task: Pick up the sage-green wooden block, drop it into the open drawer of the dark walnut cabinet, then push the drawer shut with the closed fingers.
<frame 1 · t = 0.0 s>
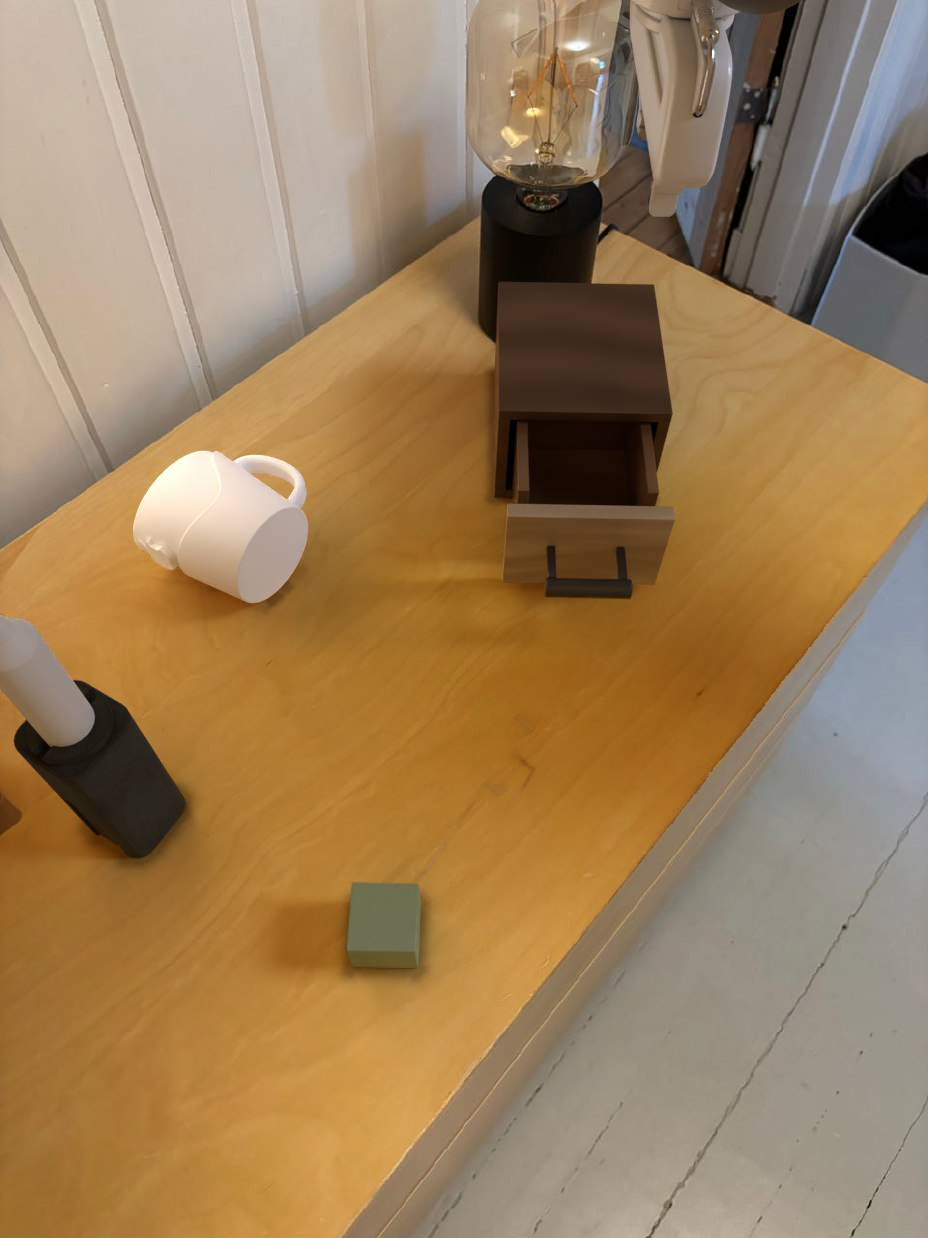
hand: (653, 171, 68), 20 cm above the dresser top, tool pointing down, fingers open, 8 cm apart
block: (387, 934, 58), on the dresser top
cabinet: (568, 433, 81), on the dresser top
drawer: (581, 502, 70), point 5 cm above the dresser top, slide at 8.0 cm
candle: (139, 814, 62), on the dresser top
mug: (246, 551, 74), on the dresser top
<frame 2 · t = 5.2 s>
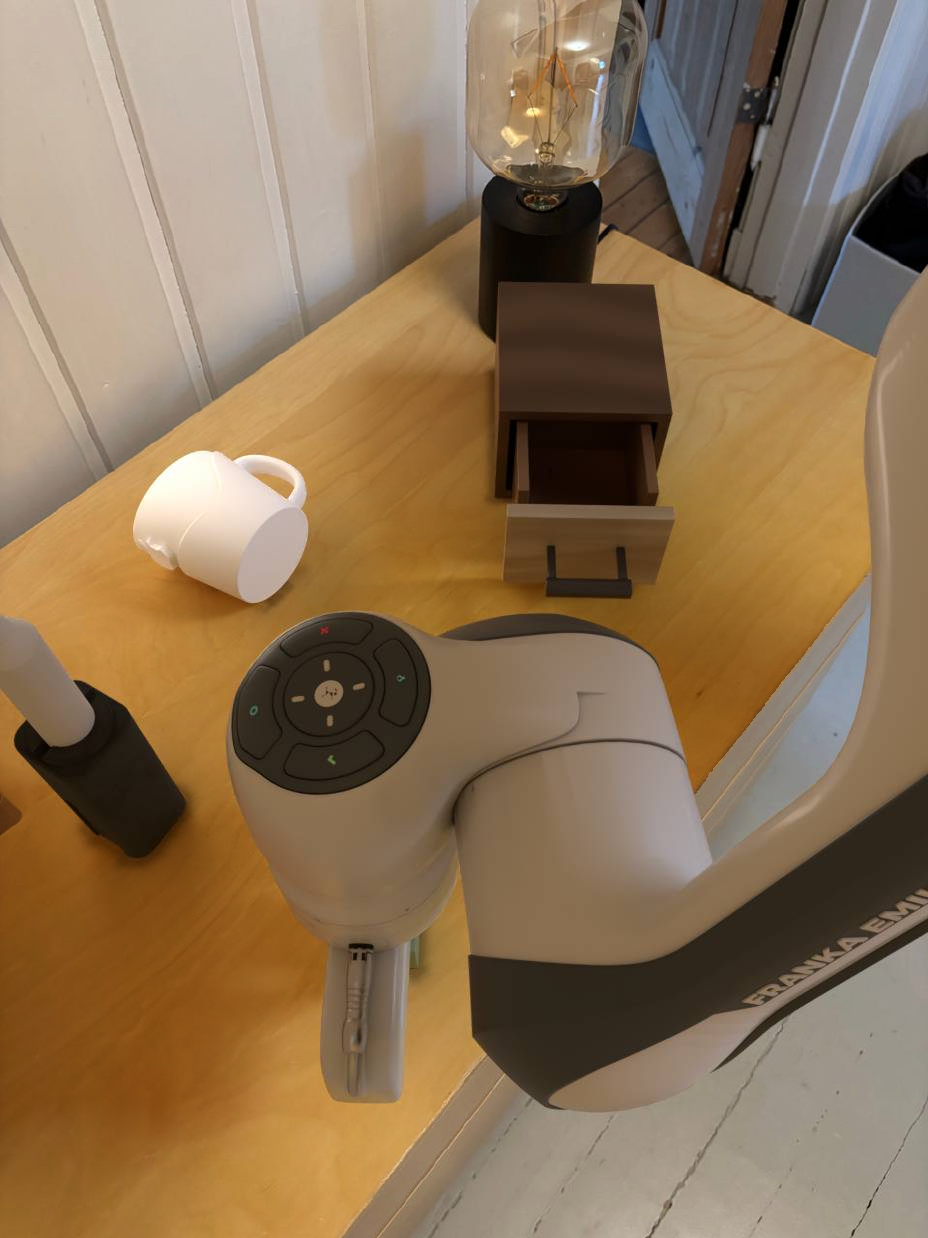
hand: (386, 926, 57), 2 cm above the dresser top, tool pointing down, fingers closed on block, 4 cm apart
block: (387, 934, 58), on the dresser top, touching gripper
everything else where it was.
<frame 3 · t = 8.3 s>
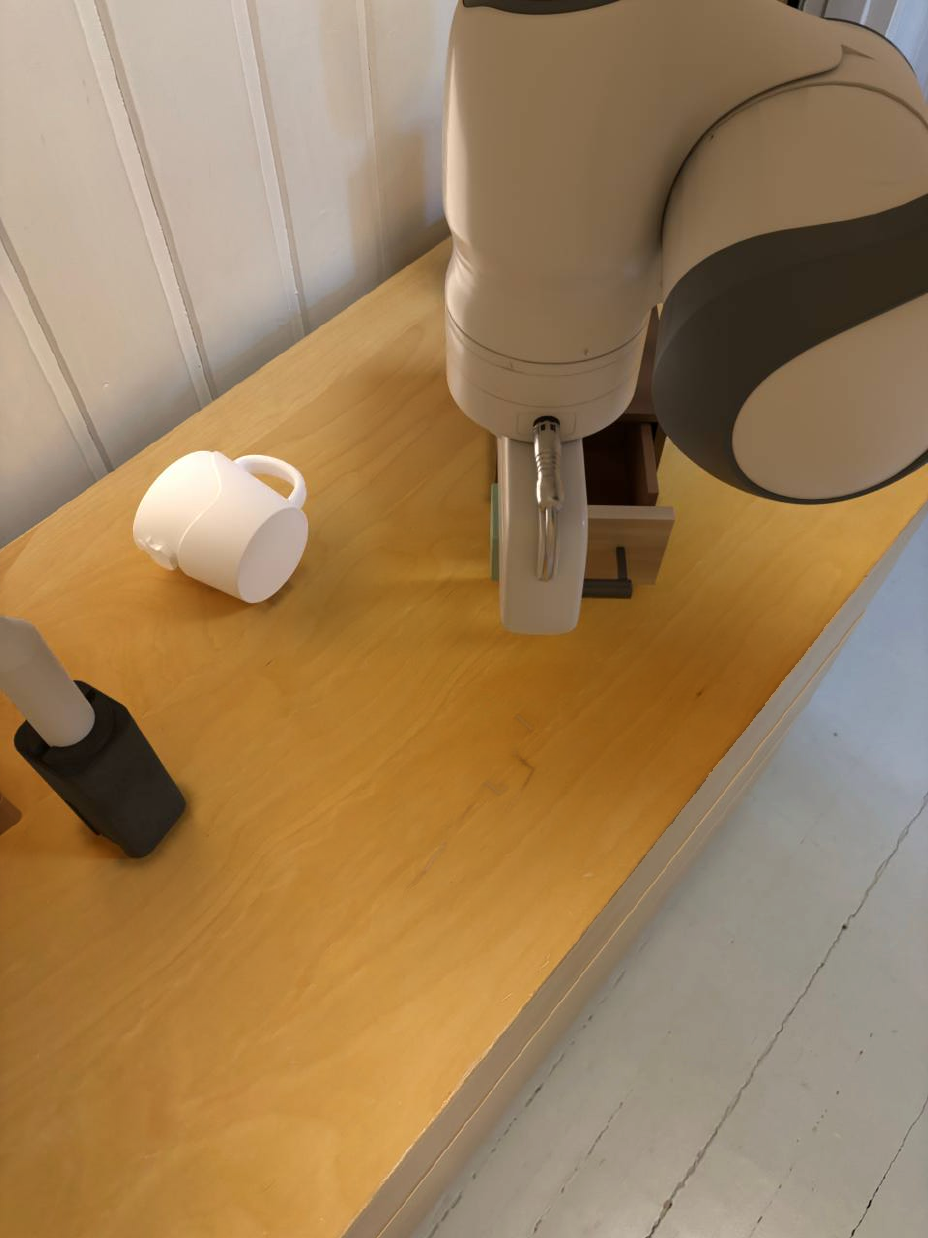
hand: (527, 536, 54), 17 cm above the dresser top, tool pointing down, fingers closed on block, 4 cm apart
block: (524, 554, 55), point 15 cm above the dresser top, touching gripper
everything else where it was.
when the fingers open (9 cm above the dresser top, at t = 11.6 s): block drops 5 cm, resting on drawer.
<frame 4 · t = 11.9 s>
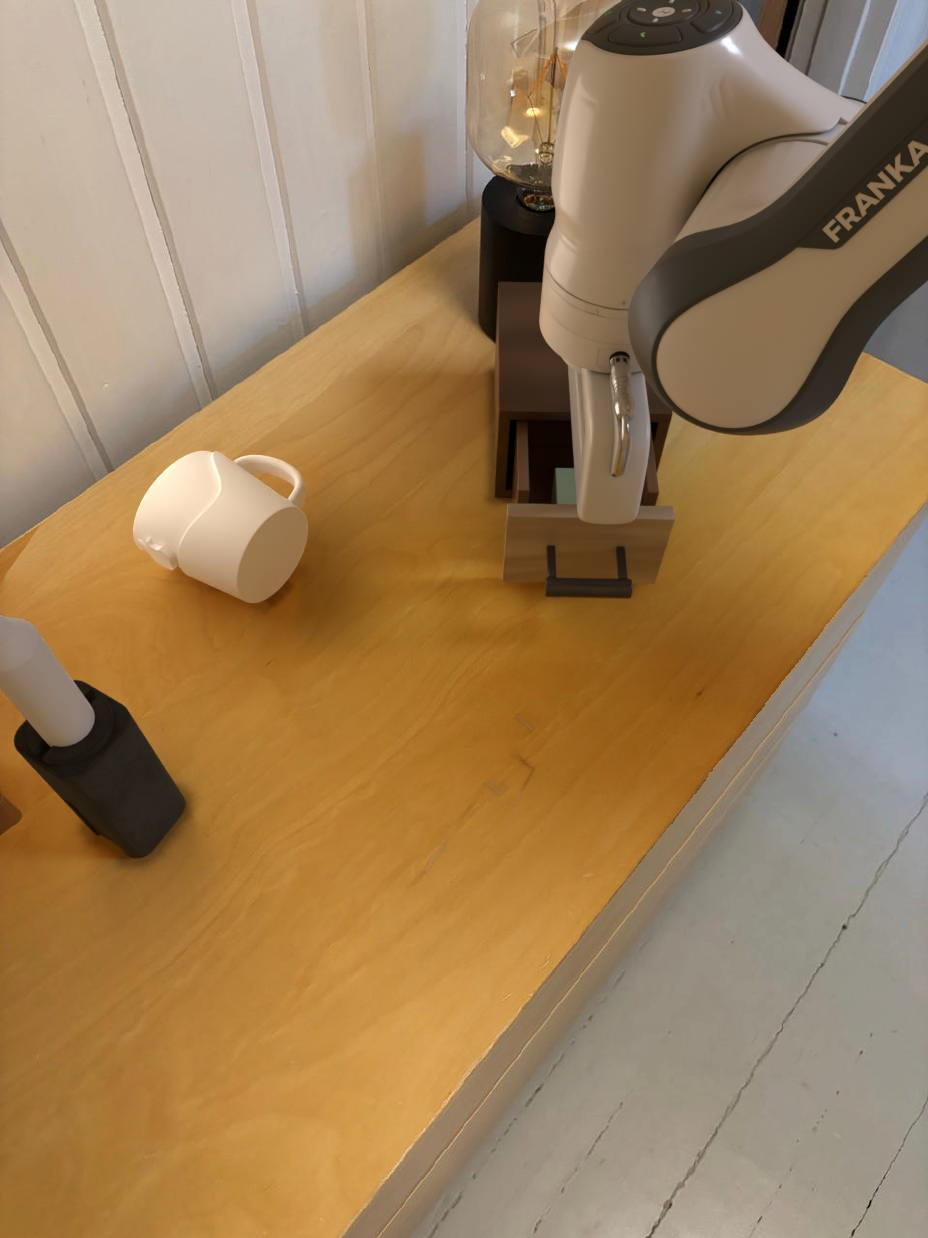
hand: (588, 461, 67), 9 cm above the dresser top, tool pointing down, fingers open, 5 cm apart
block: (576, 521, 73), point 2 cm above the dresser top, touching drawer
drawer: (581, 502, 70), point 5 cm above the dresser top, slide at 8.0 cm, touching block
everything else where it was.
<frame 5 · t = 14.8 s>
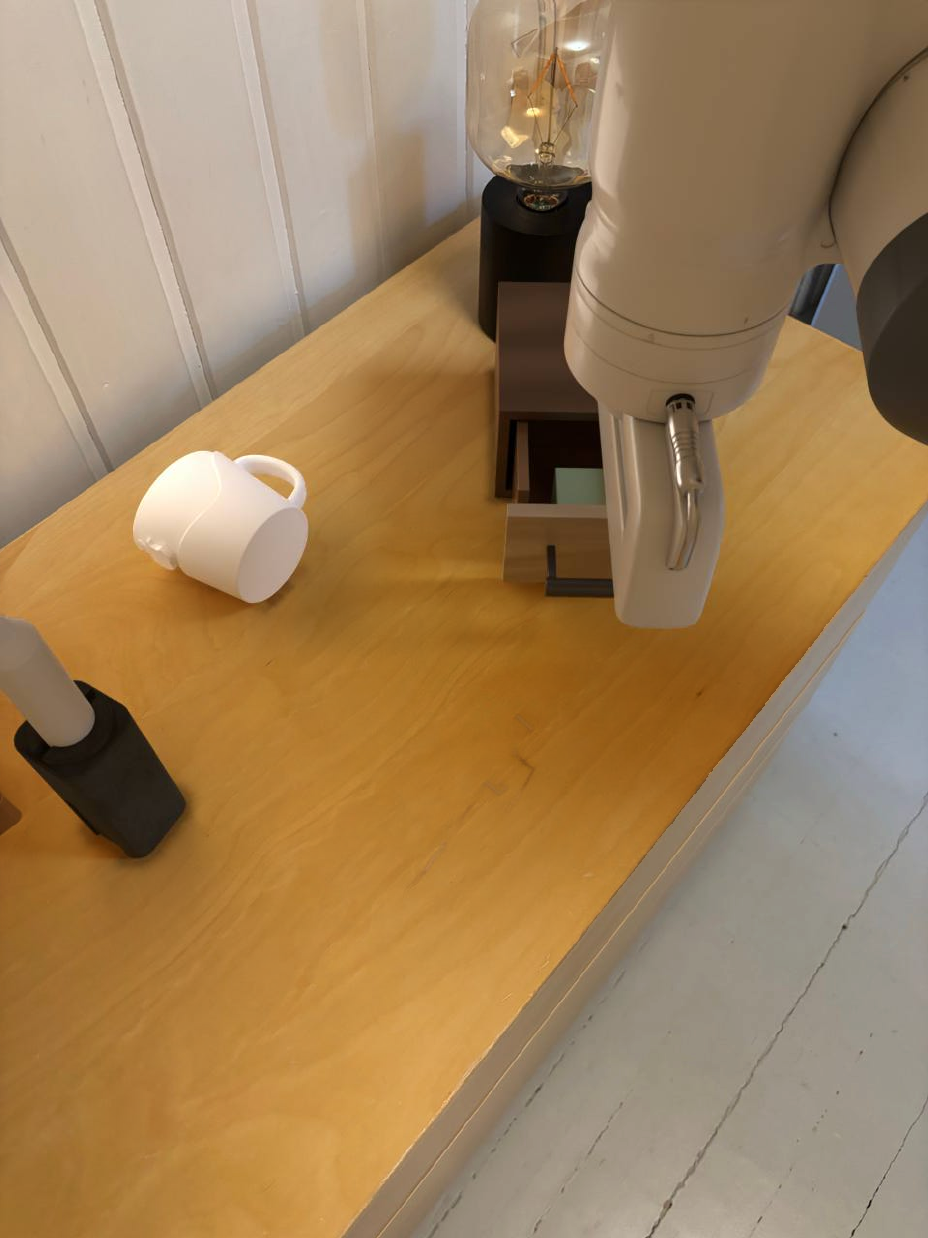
hand: (622, 526, 51), 19 cm above the dresser top, tool pointing down, fingers closed
nothing on the dresser top moved.
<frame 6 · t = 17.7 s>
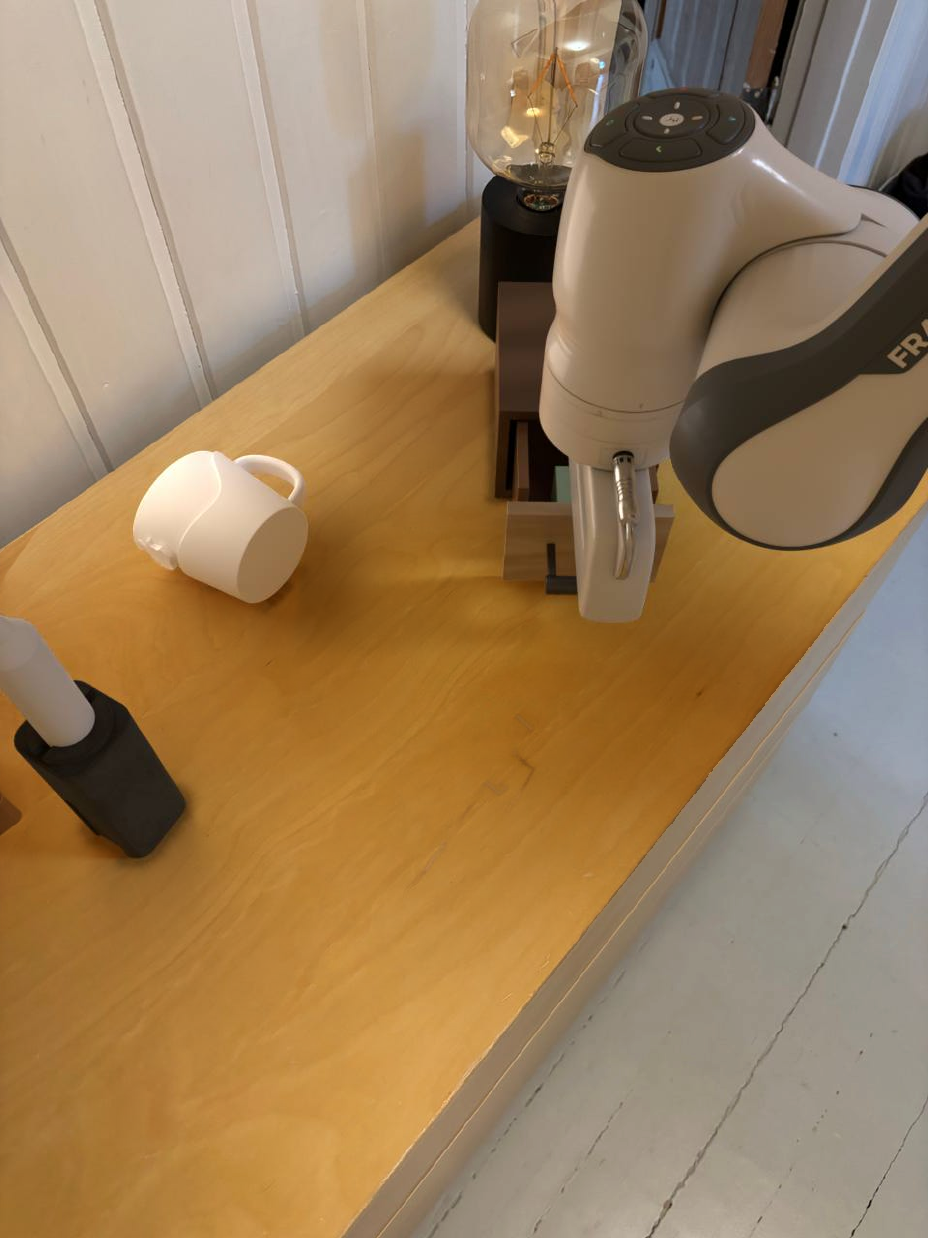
hand: (589, 543, 65), 8 cm above the dresser top, tool pointing down, fingers closed
drawer: (581, 500, 71), point 5 cm above the dresser top, slide at 7.8 cm, touching block, gripper
everything else where it was.
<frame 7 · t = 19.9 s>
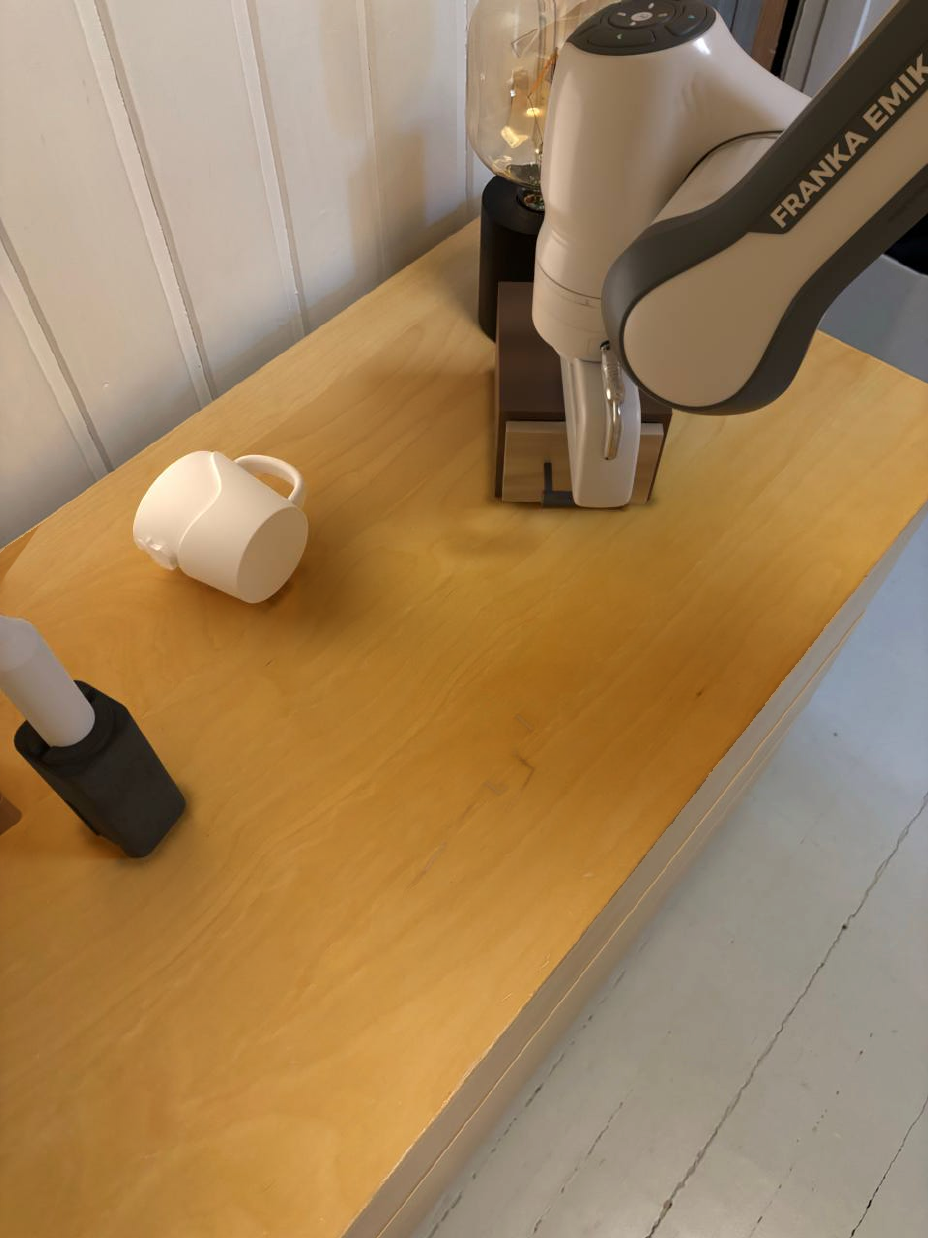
hand: (582, 452, 70), 8 cm above the dresser top, tool pointing down, fingers closed, pressing on drawer
block: (572, 444, 77), point 2 cm above the dresser top, touching drawer
drawer: (576, 425, 75), point 5 cm above the dresser top, slide at 0.0 cm, touching block, cabinet, gripper
everything else where it was.
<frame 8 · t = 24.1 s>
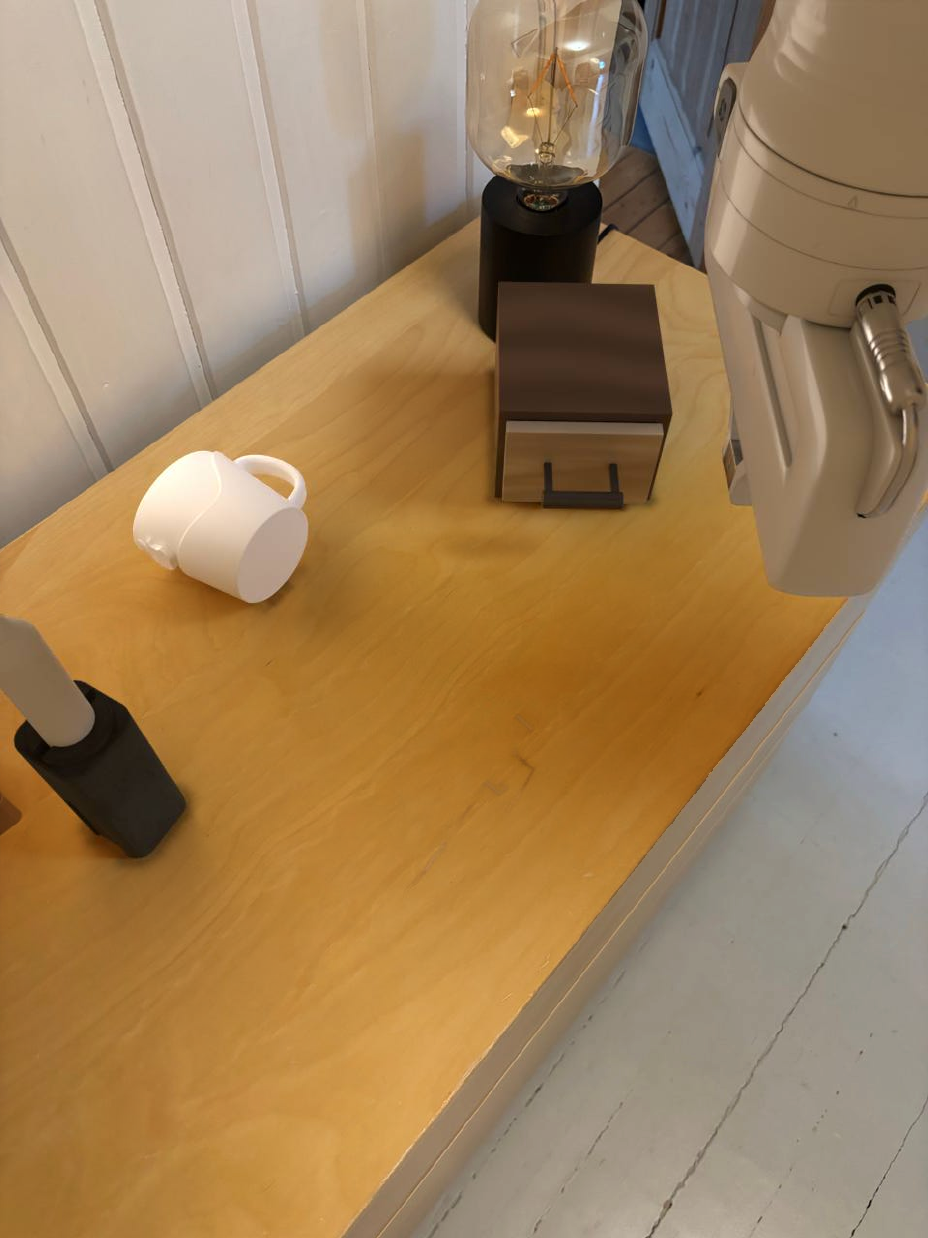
hand: (743, 481, 42), 27 cm above the dresser top, tool pointing down, fingers closed
drawer: (576, 425, 75), point 5 cm above the dresser top, slide at 0.0 cm, touching block
everything else where it was.
at the end: block inside the target area in the cabinet (3.1 cm from its centre), point 2.1 cm above the cabinet's base; drawer slide at 0.0 cm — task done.
